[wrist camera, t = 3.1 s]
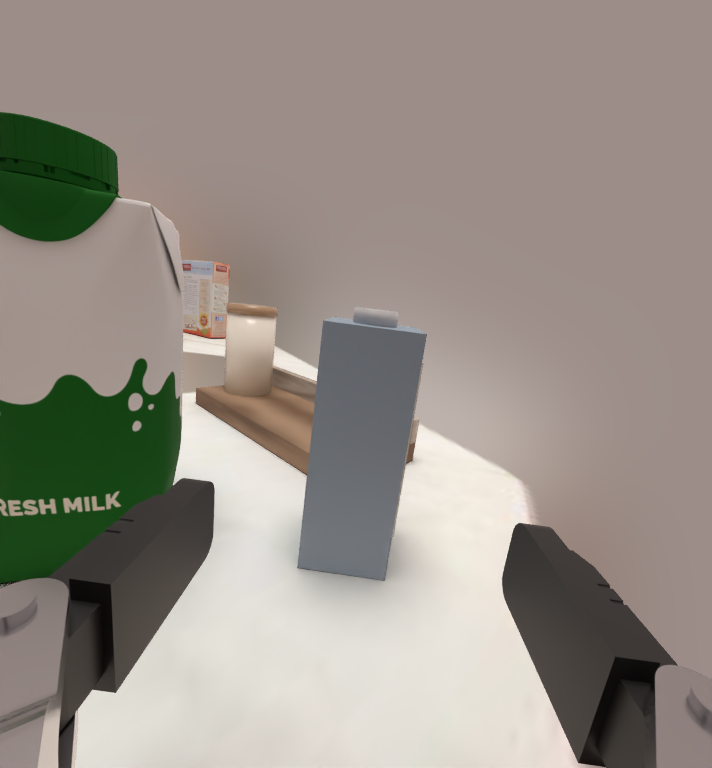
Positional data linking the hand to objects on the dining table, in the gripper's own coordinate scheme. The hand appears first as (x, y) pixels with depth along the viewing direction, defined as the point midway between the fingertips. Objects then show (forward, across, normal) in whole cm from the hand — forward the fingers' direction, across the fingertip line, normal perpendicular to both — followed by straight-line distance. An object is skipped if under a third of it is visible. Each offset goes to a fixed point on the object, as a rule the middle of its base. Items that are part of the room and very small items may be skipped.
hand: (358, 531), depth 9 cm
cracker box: (+94, +49, +8) cm, 107 cm away
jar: (+36, +16, +7) cm, 40 cm away
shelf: (+30, +8, +9) cm, 32 cm away
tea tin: (+11, 0, +9) cm, 15 cm away
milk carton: (+10, +15, +9) cm, 20 cm away
